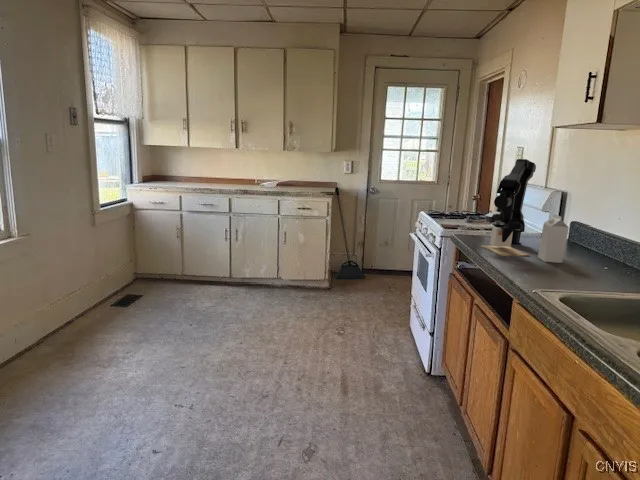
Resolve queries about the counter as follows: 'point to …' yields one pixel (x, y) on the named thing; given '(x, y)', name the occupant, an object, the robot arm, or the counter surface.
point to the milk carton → (553, 240)
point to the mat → (505, 250)
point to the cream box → (499, 237)
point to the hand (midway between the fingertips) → (501, 241)
